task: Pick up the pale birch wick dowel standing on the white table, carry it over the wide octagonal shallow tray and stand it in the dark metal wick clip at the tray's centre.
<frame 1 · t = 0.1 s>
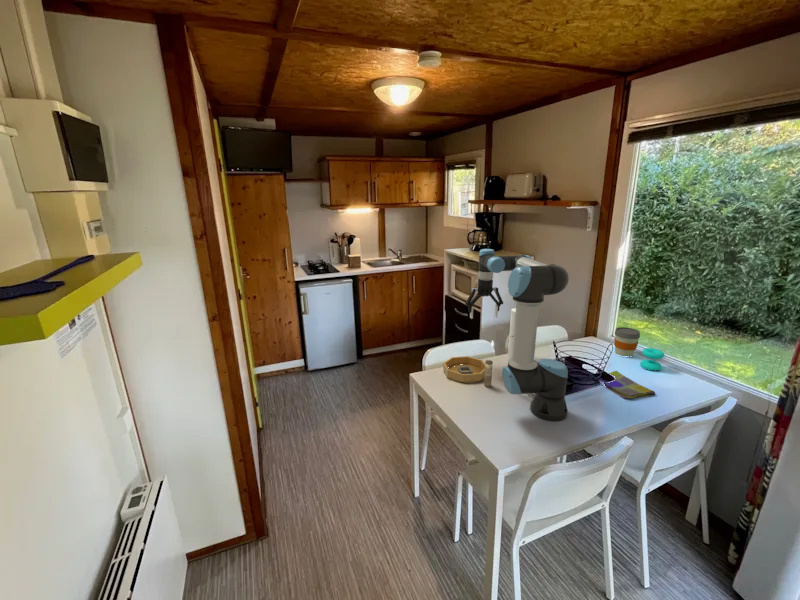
hand: (483, 317, 201), 28 cm above the table, fingers open, 13 cm apart
reusable coffee cup: (623, 355, 220), on the table
octagonal shallow tray: (465, 373, 200), on the table
container: (515, 360, 214), on the table
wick: (487, 385, 186), on the table
donuts: (650, 368, 203), on the table
dish towel: (621, 387, 185), on the table
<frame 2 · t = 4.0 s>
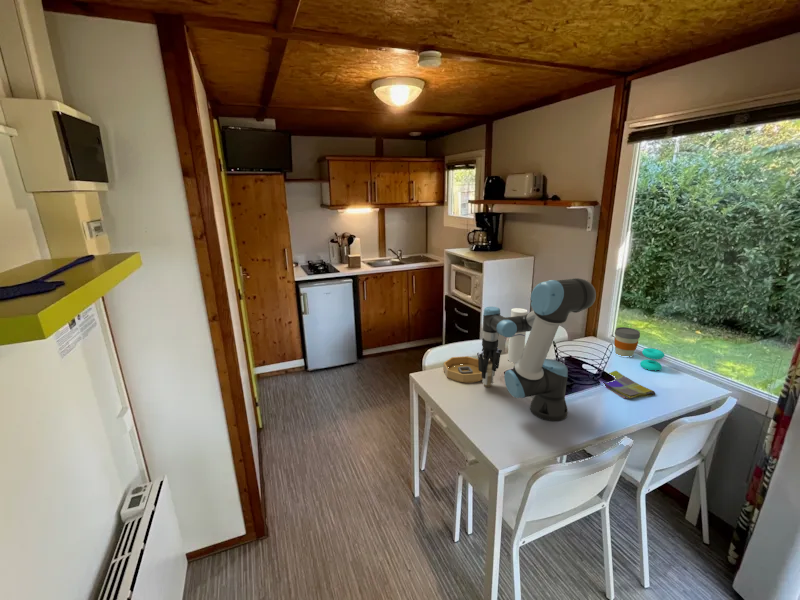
hand: (487, 382, 186), 2 cm above the table, fingers closed on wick, 3 cm apart
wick: (487, 385, 186), on the table, touching gripper
everything else where it was.
when the fingers open (5 cm above the table, at t = 9.1 s): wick drops 1 cm, resting on octagonal shallow tray.
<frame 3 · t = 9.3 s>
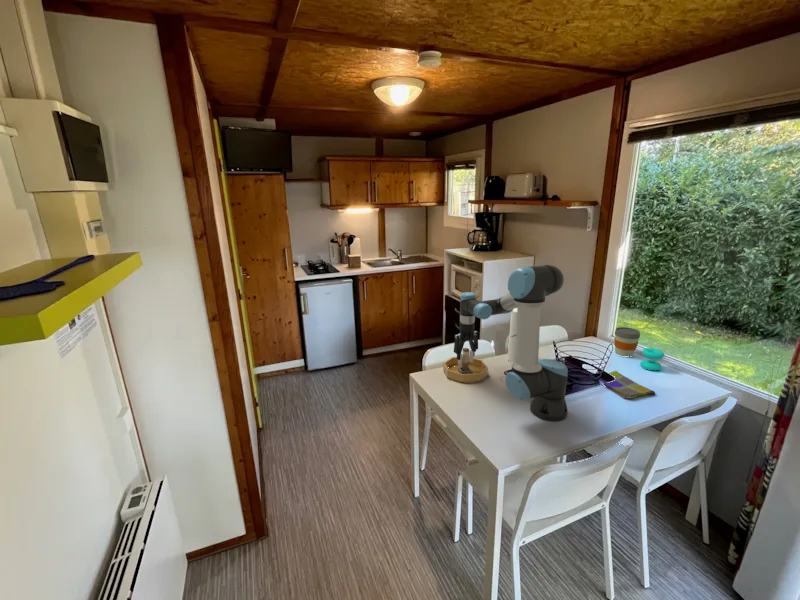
hand: (465, 363, 198), 6 cm above the table, fingers open, 7 cm apart
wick: (465, 371, 199), point 1 cm above the table, touching octagonal shallow tray
everything else where it was.
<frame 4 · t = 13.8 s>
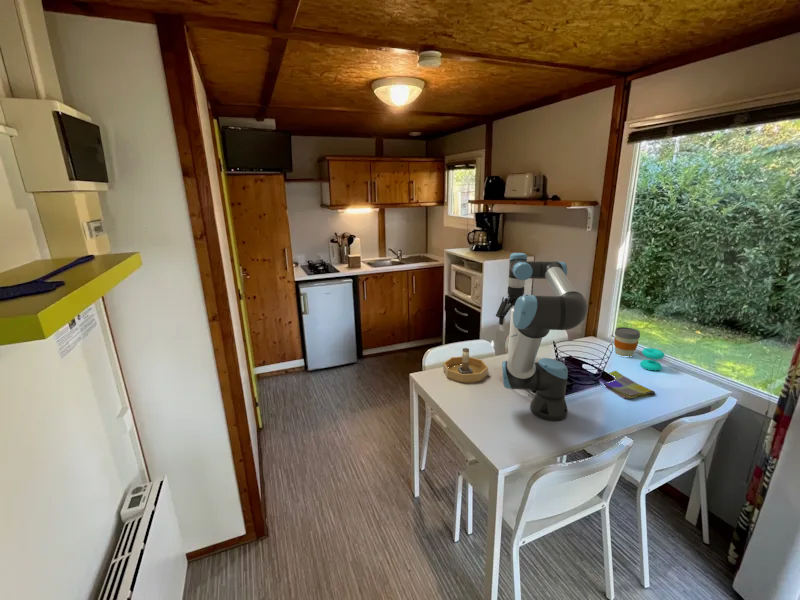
hand: (513, 328, 182), 29 cm above the table, fingers open, 13 cm apart
nothing on the table moved.
at the end: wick 0.1 cm off-centre on the octagonal shallow tray, point 0.6 cm above the octagonal shallow tray's base; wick tilted 1°; the gripper is holding nothing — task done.
